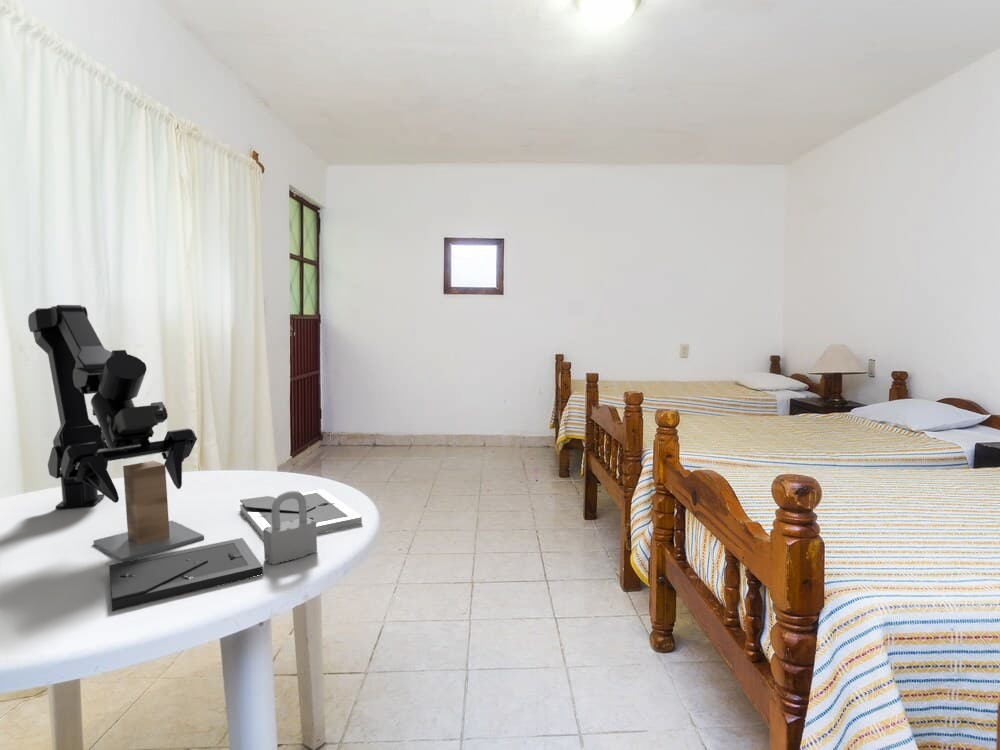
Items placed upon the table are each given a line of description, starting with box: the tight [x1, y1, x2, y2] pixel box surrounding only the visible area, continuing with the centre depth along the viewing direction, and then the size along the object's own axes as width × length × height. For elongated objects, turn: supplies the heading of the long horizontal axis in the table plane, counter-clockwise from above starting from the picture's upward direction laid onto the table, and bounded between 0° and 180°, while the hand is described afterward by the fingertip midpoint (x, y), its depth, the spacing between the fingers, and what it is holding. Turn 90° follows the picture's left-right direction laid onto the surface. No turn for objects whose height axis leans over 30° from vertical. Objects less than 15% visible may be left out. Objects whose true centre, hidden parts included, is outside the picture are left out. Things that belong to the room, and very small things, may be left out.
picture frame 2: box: [239, 489, 363, 539], centre depth 107 cm, size 16×3×21 cm
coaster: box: [92, 520, 205, 563], centre depth 96 cm, size 12×12×1 cm
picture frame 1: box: [108, 537, 264, 612], centre depth 83 cm, size 13×2×18 cm
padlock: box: [263, 490, 318, 565], centre depth 89 cm, size 7×4×10 cm, turn 134°
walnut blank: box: [122, 460, 170, 545], centre depth 95 cm, size 4×4×12 cm
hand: (149, 493), depth 94 cm, fingers open, 9 cm apart
